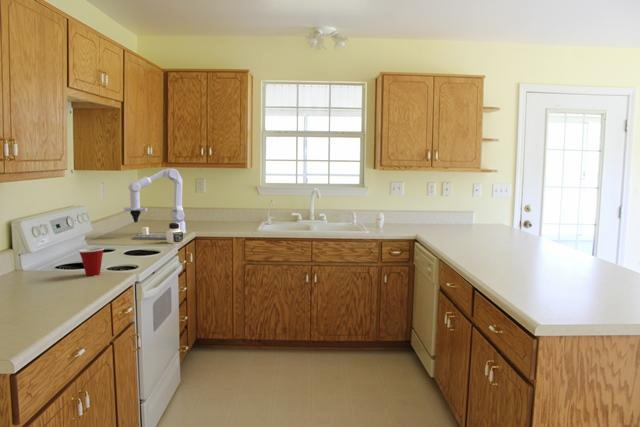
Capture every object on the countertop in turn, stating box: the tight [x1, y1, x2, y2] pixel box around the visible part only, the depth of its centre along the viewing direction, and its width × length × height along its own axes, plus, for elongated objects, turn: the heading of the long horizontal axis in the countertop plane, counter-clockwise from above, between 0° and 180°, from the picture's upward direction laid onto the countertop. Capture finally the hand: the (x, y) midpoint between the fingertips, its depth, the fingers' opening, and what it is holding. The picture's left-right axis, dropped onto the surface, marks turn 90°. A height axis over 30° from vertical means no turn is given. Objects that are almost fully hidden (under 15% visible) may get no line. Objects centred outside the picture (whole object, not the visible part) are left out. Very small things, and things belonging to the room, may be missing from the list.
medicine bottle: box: [165, 222, 184, 244], centre depth 312 cm, size 7×7×12 cm
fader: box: [141, 226, 150, 234], centre depth 329 cm, size 3×3×5 cm
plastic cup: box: [77, 247, 105, 277], centre depth 231 cm, size 11×11×12 cm
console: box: [132, 232, 167, 241], centre depth 328 cm, size 14×22×2 cm, turn 84°
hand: (135, 222), depth 329 cm, fingers closed
